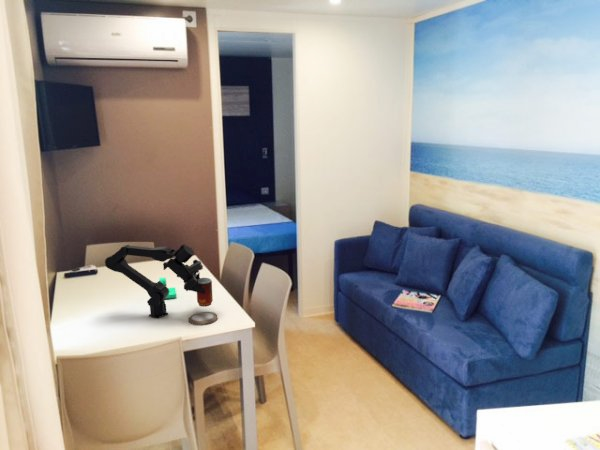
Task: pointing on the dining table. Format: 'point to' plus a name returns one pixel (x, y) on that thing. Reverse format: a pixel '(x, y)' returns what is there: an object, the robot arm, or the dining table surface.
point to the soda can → (207, 287)
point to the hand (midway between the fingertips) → (205, 290)
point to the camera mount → (171, 290)
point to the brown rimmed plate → (202, 318)
